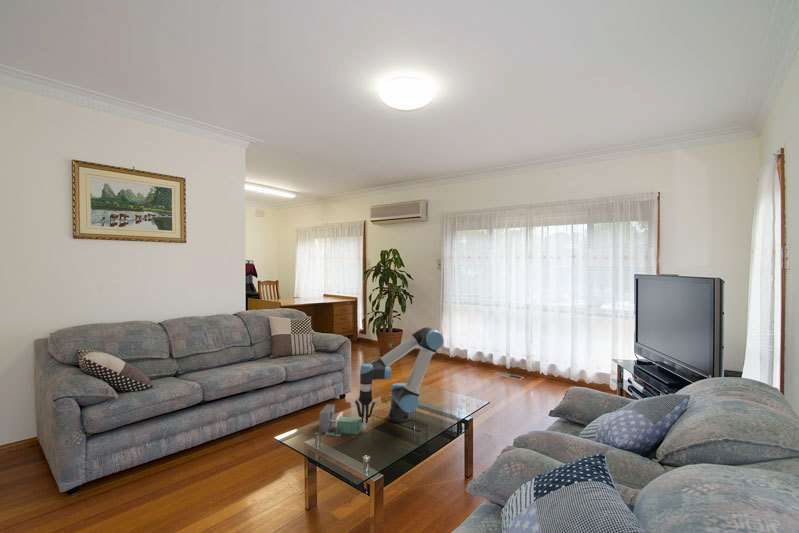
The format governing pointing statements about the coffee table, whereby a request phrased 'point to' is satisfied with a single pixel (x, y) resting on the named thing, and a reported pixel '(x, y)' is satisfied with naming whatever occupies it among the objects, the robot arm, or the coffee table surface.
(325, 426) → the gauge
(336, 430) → the plunger
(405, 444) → the coffee table surface
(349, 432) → the box
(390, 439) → the coffee table surface
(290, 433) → the coffee table surface
